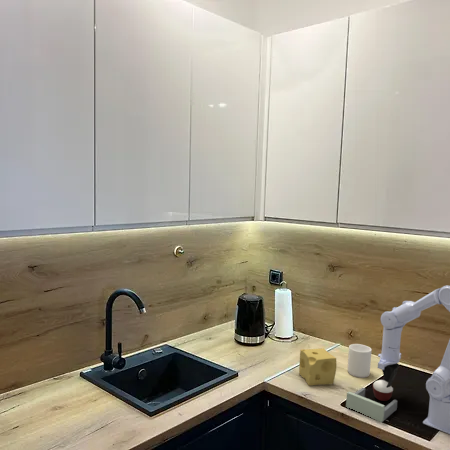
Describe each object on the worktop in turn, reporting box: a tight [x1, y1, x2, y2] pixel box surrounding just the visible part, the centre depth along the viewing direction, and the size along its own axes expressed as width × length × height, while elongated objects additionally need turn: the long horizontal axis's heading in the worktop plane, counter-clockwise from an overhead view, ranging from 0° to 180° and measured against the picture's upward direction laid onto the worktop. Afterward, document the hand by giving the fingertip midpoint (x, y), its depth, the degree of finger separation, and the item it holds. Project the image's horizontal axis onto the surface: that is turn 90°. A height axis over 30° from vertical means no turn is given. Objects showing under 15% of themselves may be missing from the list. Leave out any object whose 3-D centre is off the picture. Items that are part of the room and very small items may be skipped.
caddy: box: [345, 387, 398, 423], centre depth 140 cm, size 12×11×5 cm
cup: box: [347, 343, 372, 379], centre depth 168 cm, size 8×12×10 cm
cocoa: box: [371, 369, 398, 402], centre depth 146 cm, size 10×6×12 cm, turn 4°
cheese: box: [298, 348, 337, 387], centre depth 160 cm, size 10×11×10 cm
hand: (387, 383), depth 148 cm, fingers closed
